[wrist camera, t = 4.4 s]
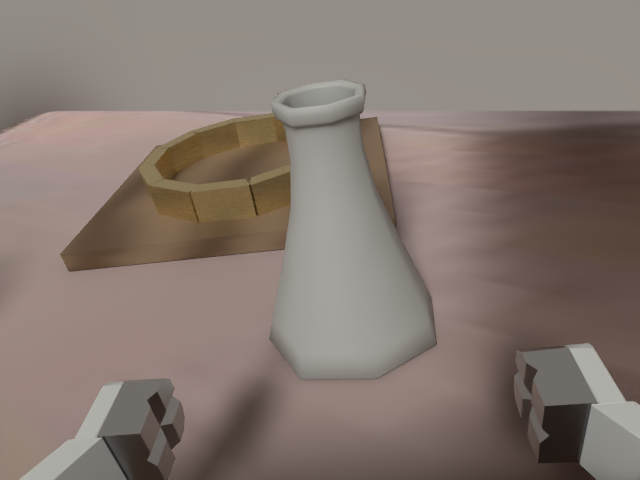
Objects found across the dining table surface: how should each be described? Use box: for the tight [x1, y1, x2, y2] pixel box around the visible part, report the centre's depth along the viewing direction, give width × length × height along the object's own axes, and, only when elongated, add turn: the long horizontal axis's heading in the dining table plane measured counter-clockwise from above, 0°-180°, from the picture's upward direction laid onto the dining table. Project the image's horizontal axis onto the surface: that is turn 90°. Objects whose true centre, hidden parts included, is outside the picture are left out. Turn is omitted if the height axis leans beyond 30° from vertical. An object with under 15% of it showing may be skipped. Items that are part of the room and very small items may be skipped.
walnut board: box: [60, 117, 396, 271], centre depth 35 cm, size 19×17×1 cm
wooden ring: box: [139, 113, 291, 223], centre depth 34 cm, size 13×13×2 cm
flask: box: [270, 80, 436, 380], centre depth 19 cm, size 7×7×10 cm
